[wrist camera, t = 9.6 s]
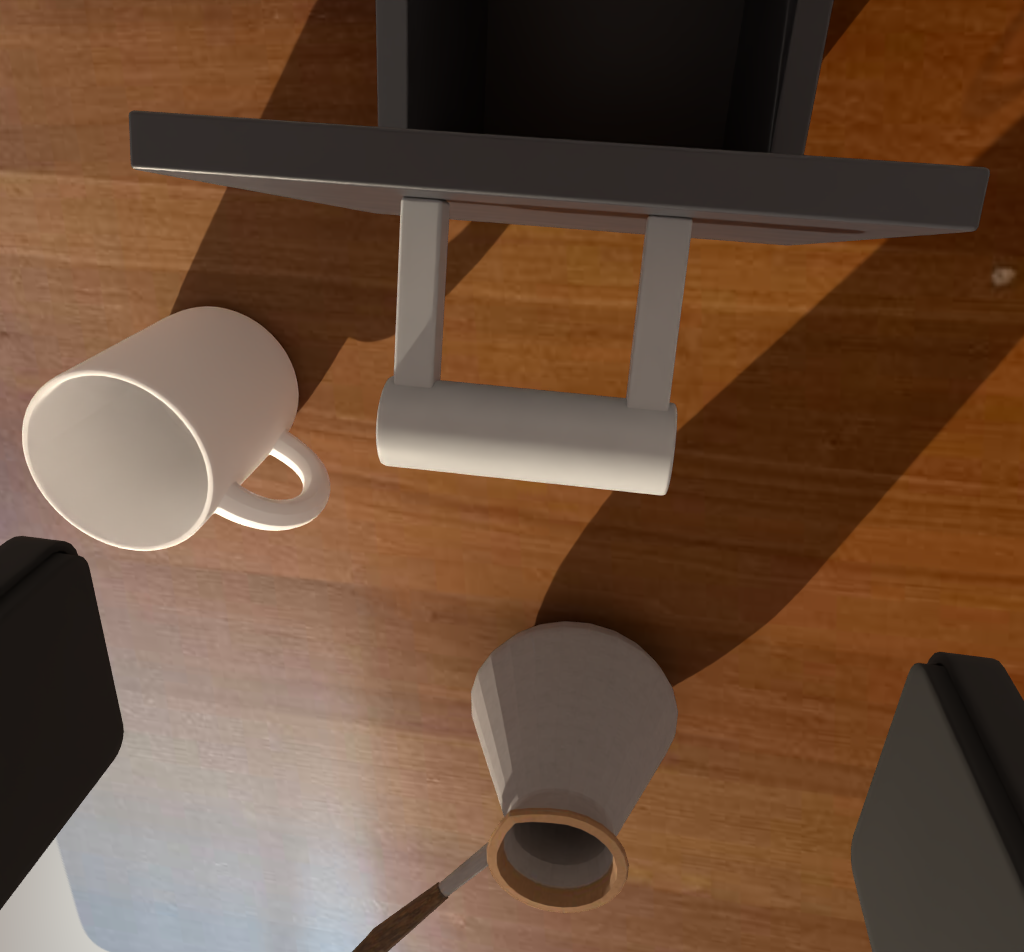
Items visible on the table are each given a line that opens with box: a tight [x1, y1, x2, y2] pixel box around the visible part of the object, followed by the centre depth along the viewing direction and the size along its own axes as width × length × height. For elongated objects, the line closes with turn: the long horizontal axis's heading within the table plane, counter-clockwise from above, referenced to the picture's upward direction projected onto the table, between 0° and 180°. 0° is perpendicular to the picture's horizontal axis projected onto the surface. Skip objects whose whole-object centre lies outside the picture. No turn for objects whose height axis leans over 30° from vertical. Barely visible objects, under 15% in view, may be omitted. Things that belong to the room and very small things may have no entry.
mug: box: [22, 306, 330, 551], centre depth 39 cm, size 12×8×10 cm
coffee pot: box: [352, 621, 678, 952], centre depth 44 cm, size 21×12×15 cm, turn 127°
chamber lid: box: [129, 111, 990, 495], centre depth 18 cm, size 13×12×5 cm
